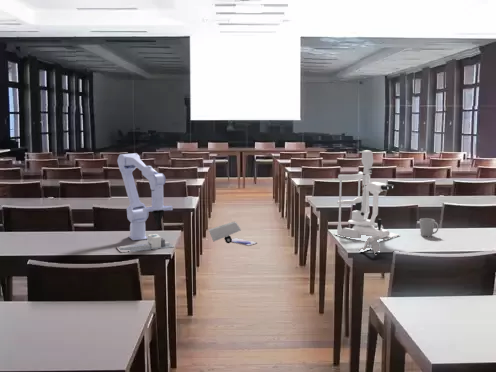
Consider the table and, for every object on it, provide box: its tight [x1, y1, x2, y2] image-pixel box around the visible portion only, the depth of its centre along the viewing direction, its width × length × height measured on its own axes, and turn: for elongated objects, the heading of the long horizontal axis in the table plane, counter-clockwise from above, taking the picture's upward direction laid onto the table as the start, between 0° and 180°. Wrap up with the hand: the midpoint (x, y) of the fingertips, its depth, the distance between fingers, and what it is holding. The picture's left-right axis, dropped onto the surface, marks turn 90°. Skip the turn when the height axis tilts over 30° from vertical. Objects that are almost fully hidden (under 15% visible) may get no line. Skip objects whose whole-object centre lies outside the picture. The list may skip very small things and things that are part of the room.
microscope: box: [333, 149, 401, 240], centre depth 306 cm, size 24×27×45 cm
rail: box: [118, 237, 175, 252], centre depth 284 cm, size 10×26×3 cm, turn 115°
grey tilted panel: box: [208, 221, 242, 244], centre depth 294 cm, size 4×10×15 cm
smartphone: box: [231, 237, 258, 247], centre depth 295 cm, size 7×1×15 cm
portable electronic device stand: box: [358, 235, 382, 256], centre depth 275 cm, size 9×8×8 cm
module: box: [147, 233, 162, 248], centre depth 286 cm, size 7×4×5 cm, turn 25°
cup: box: [419, 217, 439, 237], centre depth 308 cm, size 8×10×8 cm
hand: (158, 225), depth 290 cm, fingers closed
